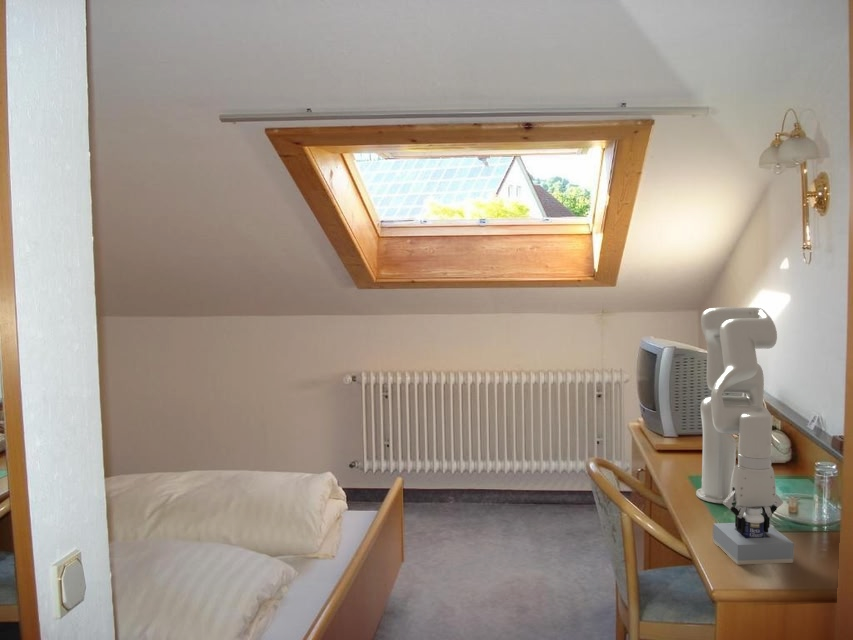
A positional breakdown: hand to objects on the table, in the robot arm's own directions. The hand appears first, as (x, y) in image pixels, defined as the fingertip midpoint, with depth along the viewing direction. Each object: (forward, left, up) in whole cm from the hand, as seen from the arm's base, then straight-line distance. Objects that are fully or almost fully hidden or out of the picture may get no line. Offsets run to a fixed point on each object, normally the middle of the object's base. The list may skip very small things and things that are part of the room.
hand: (752, 530), depth 189 cm
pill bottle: (0, 0, -4) cm, 4 cm away
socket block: (0, 0, -6) cm, 6 cm away
